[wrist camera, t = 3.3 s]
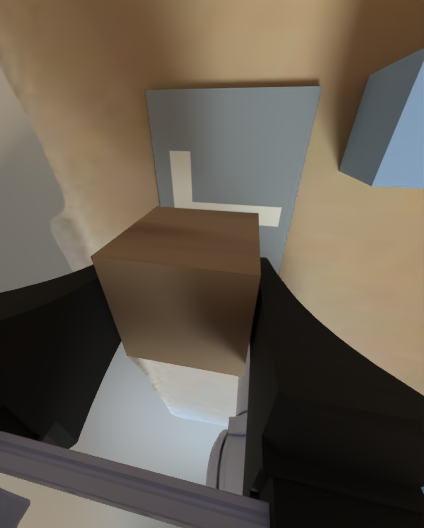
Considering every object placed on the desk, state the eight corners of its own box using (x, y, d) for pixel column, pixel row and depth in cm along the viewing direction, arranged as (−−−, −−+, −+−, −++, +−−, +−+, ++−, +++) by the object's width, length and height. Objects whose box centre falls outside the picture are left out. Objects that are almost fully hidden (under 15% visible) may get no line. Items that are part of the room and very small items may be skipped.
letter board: (273, 291, 21) (273, 294, 21) (171, 279, 22) (170, 281, 22) (320, 87, 12) (322, 86, 12) (147, 90, 14) (144, 89, 13)
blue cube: (418, 173, 14) (488, 191, 10) (338, 170, 14) (371, 186, 10) (470, 72, 11) (600, 36, 7) (368, 75, 12) (430, 44, 8)
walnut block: (247, 294, 12) (243, 377, 8) (168, 284, 13) (127, 355, 9) (258, 213, 10) (260, 275, 5) (157, 206, 10) (90, 256, 6)
